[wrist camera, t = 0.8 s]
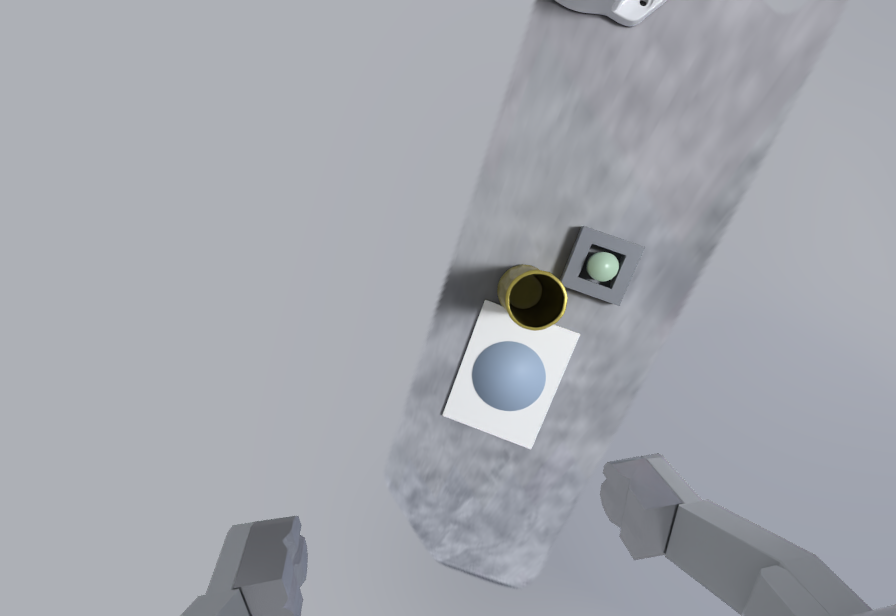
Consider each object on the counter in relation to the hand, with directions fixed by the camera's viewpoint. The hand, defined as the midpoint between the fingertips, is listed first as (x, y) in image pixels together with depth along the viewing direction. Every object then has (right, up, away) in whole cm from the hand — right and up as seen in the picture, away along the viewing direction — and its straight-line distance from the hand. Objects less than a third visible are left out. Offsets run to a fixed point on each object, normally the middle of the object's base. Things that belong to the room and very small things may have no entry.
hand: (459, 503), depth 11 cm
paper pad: (+7, -3, +40) cm, 41 cm away
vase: (+9, +7, +38) cm, 40 cm away
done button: (+17, +10, +37) cm, 42 cm away
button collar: (+17, +10, +37) cm, 42 cm away
